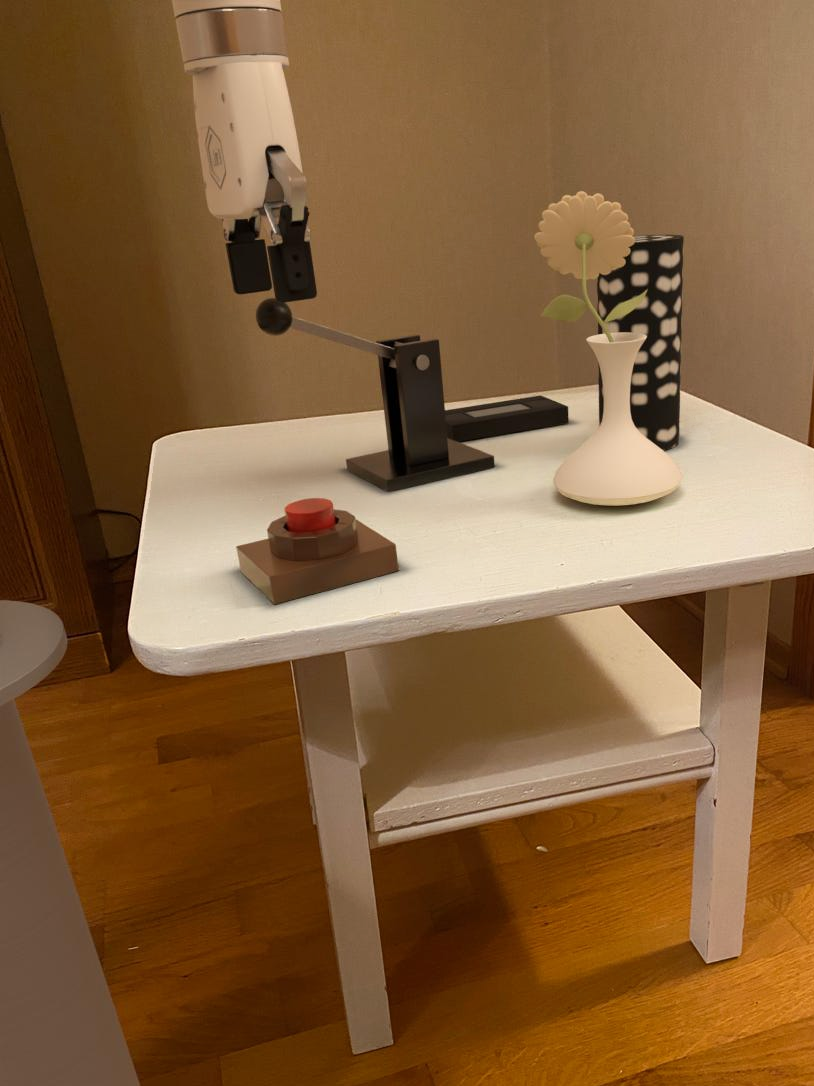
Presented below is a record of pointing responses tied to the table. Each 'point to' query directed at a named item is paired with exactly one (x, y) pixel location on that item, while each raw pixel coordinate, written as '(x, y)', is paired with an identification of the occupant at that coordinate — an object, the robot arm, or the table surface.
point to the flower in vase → (603, 358)
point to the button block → (315, 558)
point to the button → (310, 515)
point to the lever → (312, 329)
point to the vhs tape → (504, 417)
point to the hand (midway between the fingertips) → (274, 296)
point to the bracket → (415, 423)
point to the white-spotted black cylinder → (649, 332)
